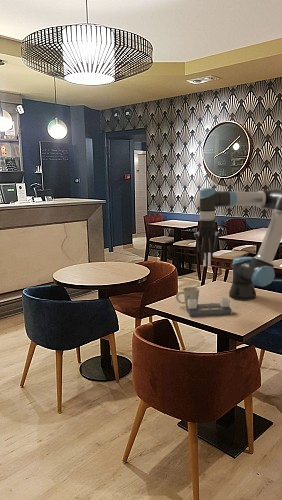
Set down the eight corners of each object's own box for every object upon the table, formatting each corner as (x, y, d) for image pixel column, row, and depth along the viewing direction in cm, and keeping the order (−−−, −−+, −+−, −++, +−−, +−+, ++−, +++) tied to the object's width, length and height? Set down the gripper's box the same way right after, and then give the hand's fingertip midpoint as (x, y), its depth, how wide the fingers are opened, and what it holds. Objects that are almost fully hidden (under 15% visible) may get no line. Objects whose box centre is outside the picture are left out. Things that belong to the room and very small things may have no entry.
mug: (198, 309, 208) (198, 291, 206) (175, 308, 210) (174, 290, 208) (199, 304, 216) (199, 287, 214) (176, 303, 218) (176, 286, 217)
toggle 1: (195, 305, 205) (195, 298, 204) (196, 308, 201) (196, 301, 200) (187, 306, 204) (187, 299, 204) (189, 308, 200) (188, 301, 200)
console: (226, 308, 209) (226, 302, 209) (231, 314, 199) (231, 308, 199) (186, 310, 208) (186, 304, 207) (189, 316, 198) (189, 310, 197)
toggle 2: (227, 304, 206) (227, 297, 205) (229, 306, 202) (229, 299, 201) (219, 304, 205) (219, 297, 205) (221, 307, 201) (222, 300, 201)
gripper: (219, 218, 200) (219, 263, 205) (191, 219, 199) (191, 264, 204) (223, 219, 193) (223, 266, 197) (193, 220, 192) (194, 268, 196)
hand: (207, 265), depth 200 cm, fingers open, 2 cm apart
